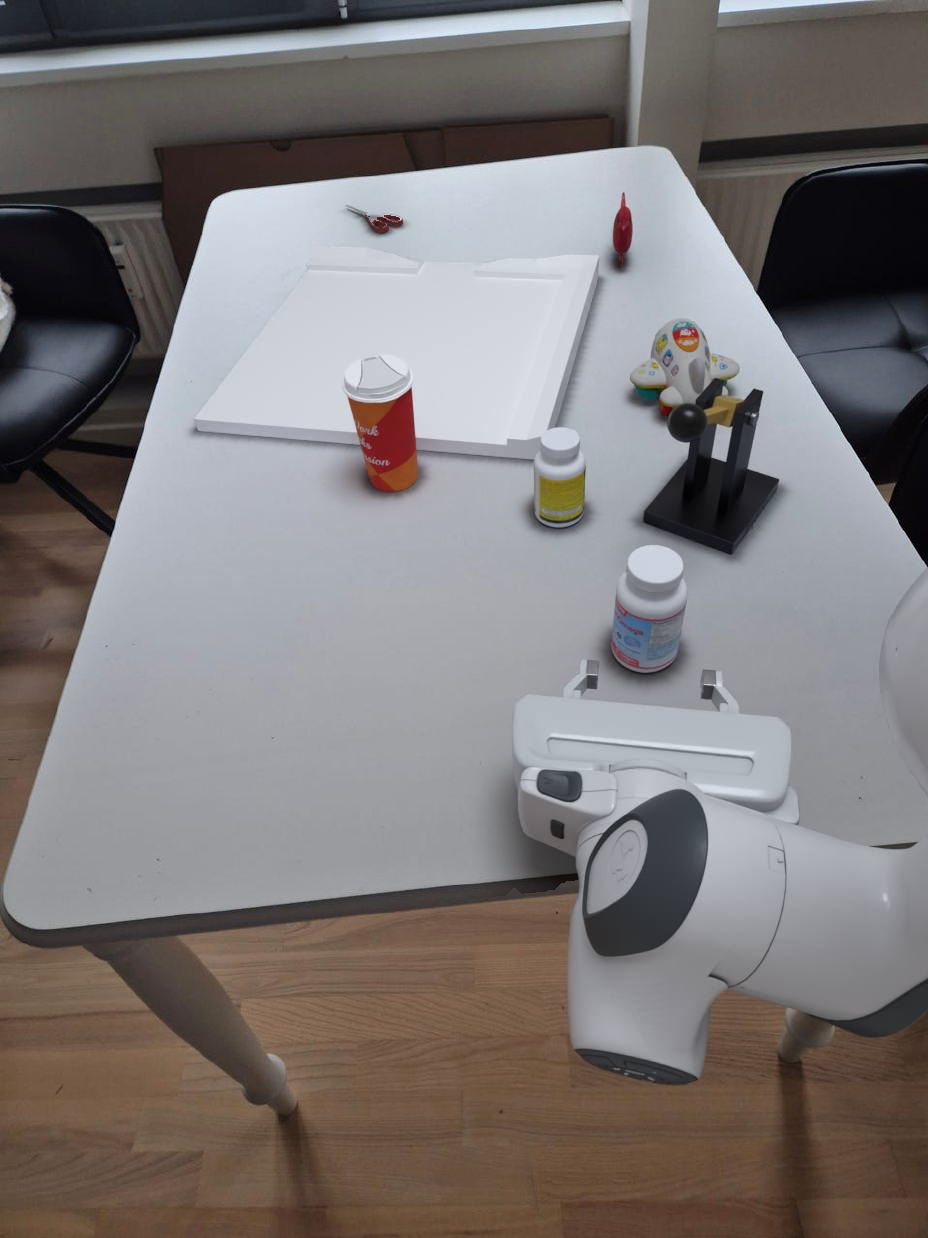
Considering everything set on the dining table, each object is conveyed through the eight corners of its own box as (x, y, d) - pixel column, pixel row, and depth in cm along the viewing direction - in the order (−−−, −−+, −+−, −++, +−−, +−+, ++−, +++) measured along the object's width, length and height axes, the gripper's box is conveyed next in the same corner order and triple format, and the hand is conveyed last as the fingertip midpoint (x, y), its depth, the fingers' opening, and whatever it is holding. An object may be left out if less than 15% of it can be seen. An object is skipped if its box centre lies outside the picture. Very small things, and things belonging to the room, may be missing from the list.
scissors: (380, 234, 146) (380, 228, 145) (334, 212, 154) (333, 207, 153) (405, 223, 148) (405, 217, 148) (358, 202, 156) (357, 197, 155)
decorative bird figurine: (610, 283, 129) (614, 214, 121) (612, 231, 140) (615, 166, 133) (630, 282, 128) (635, 214, 121) (630, 231, 140) (634, 165, 133)
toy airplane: (647, 375, 96) (621, 303, 106) (639, 438, 103) (615, 365, 113) (765, 364, 96) (728, 293, 106) (749, 427, 103) (716, 355, 113)
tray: (198, 430, 110) (189, 406, 108) (319, 267, 139) (315, 245, 137) (545, 460, 101) (545, 435, 98) (598, 278, 130) (599, 255, 127)
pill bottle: (599, 638, 82) (605, 551, 73) (657, 618, 83) (668, 530, 74) (630, 684, 78) (639, 597, 69) (690, 662, 79) (706, 574, 71)
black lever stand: (731, 554, 88) (754, 442, 78) (642, 521, 92) (653, 411, 82) (776, 489, 94) (803, 378, 84) (691, 461, 98) (707, 352, 88)
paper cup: (355, 466, 103) (333, 361, 92) (417, 450, 104) (402, 345, 94) (370, 505, 98) (348, 398, 87) (435, 489, 99) (421, 381, 88)
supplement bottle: (593, 520, 93) (596, 445, 86) (547, 534, 92) (547, 460, 85) (570, 491, 97) (571, 417, 89) (526, 505, 95) (524, 431, 88)
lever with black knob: (692, 449, 74) (704, 410, 73) (656, 438, 76) (667, 399, 74) (742, 431, 85) (753, 397, 84) (710, 421, 87) (720, 387, 85)
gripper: (813, 818, 55) (795, 654, 64) (497, 784, 59) (522, 633, 68) (792, 865, 60) (779, 705, 69) (501, 830, 63) (524, 683, 72)
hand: (649, 669), depth 68 cm, fingers open, 8 cm apart
